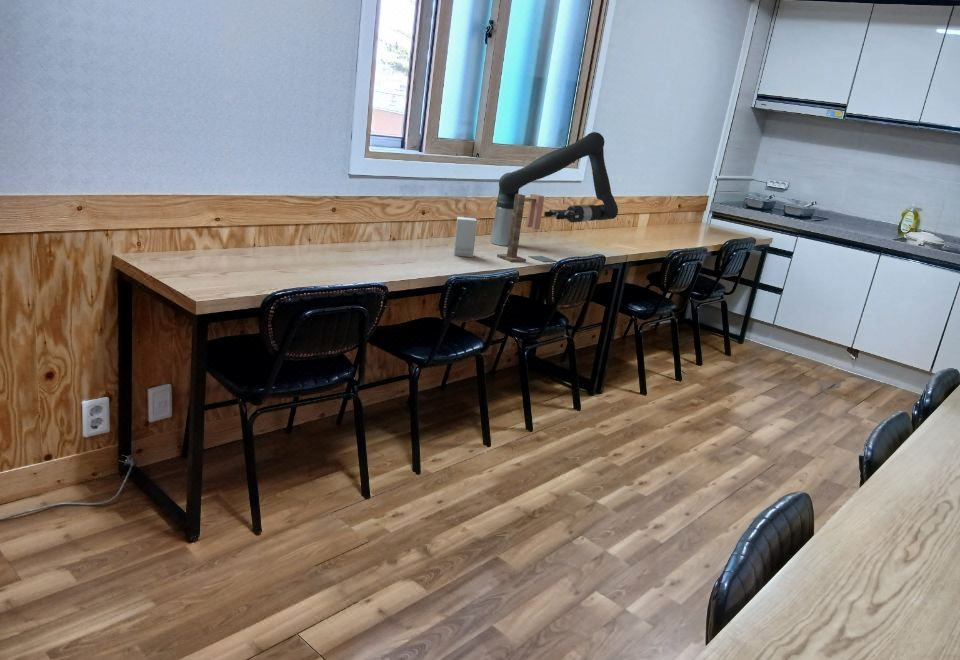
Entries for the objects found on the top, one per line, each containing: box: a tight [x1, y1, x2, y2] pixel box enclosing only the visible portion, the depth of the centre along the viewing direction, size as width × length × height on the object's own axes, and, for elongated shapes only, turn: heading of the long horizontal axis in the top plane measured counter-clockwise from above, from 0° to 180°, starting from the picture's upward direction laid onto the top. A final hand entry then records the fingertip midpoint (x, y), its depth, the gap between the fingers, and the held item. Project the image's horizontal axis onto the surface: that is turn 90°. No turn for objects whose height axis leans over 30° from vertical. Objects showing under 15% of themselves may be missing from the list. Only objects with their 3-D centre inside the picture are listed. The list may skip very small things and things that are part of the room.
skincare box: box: [453, 216, 478, 258], centre depth 310 cm, size 8×7×16 cm
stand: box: [496, 193, 536, 263], centre depth 315 cm, size 10×17×28 cm, turn 127°
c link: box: [525, 193, 545, 230], centre depth 317 cm, size 6×3×14 cm, turn 37°
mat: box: [527, 255, 558, 263], centre depth 326 cm, size 10×8×1 cm
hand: (550, 215), depth 323 cm, fingers open, 8 cm apart
